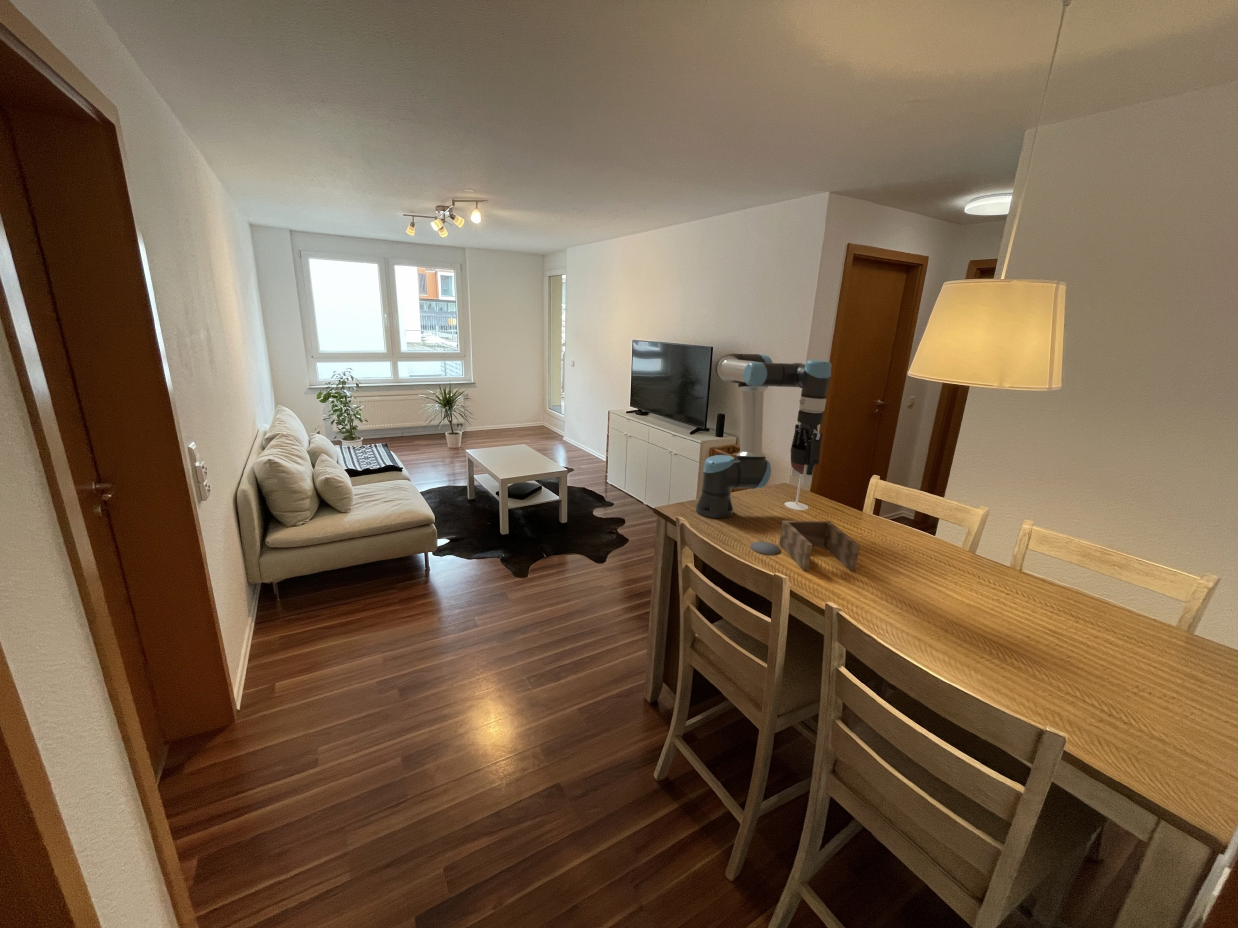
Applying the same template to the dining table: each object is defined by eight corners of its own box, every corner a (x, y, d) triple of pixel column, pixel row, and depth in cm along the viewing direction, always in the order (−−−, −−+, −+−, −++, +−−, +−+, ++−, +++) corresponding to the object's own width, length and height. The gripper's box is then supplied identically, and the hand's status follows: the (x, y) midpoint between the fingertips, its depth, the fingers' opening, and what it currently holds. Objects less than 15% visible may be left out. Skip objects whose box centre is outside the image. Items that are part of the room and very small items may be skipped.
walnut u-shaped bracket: (779, 544, 176) (782, 520, 173) (825, 544, 177) (829, 521, 175) (803, 570, 156) (807, 544, 154) (855, 571, 158) (860, 545, 155)
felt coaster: (746, 542, 176) (746, 541, 176) (774, 542, 177) (774, 541, 176) (756, 554, 166) (756, 553, 166) (785, 555, 167) (785, 554, 167)
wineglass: (813, 510, 160) (824, 451, 155) (787, 509, 160) (796, 450, 154) (804, 501, 168) (814, 445, 162) (779, 500, 168) (788, 443, 162)
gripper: (786, 404, 164) (776, 470, 171) (815, 416, 145) (803, 490, 151) (807, 405, 165) (797, 470, 172) (839, 417, 146) (826, 490, 152)
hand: (800, 479), depth 161 cm, fingers closed on wineglass, 7 cm apart
